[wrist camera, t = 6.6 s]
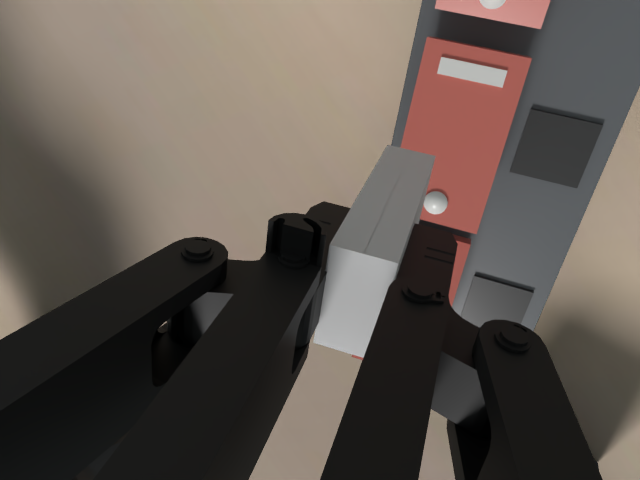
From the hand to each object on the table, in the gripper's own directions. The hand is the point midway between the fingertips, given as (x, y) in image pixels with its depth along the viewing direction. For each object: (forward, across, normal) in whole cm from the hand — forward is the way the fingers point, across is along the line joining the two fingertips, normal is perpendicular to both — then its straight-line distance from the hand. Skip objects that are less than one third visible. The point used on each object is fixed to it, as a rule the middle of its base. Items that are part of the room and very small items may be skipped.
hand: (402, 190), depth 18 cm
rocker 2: (+10, +1, -1) cm, 10 cm away
